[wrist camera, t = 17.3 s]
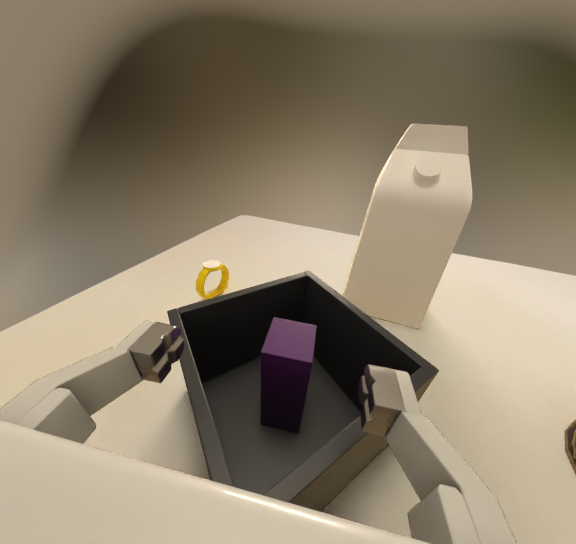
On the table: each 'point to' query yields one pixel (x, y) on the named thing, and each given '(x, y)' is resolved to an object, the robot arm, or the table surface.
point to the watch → (207, 268)
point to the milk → (411, 224)
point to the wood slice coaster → (571, 443)
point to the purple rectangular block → (286, 373)
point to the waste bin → (319, 399)
